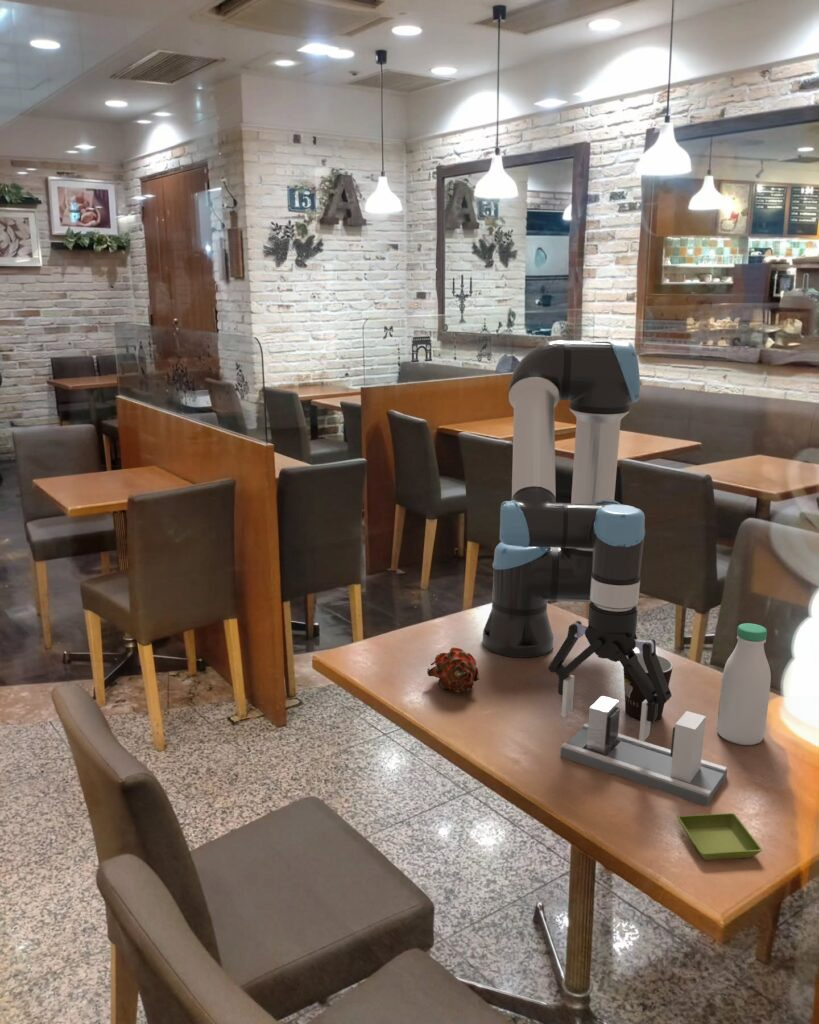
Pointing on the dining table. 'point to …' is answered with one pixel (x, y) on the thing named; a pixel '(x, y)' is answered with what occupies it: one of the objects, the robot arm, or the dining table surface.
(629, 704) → the coffee mug
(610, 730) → the block
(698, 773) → the rail
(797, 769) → the dining table surface
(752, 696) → the milk bottle
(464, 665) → the dragon fruit
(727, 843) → the green square tray
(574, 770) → the dining table surface
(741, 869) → the dining table surface
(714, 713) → the dining table surface
